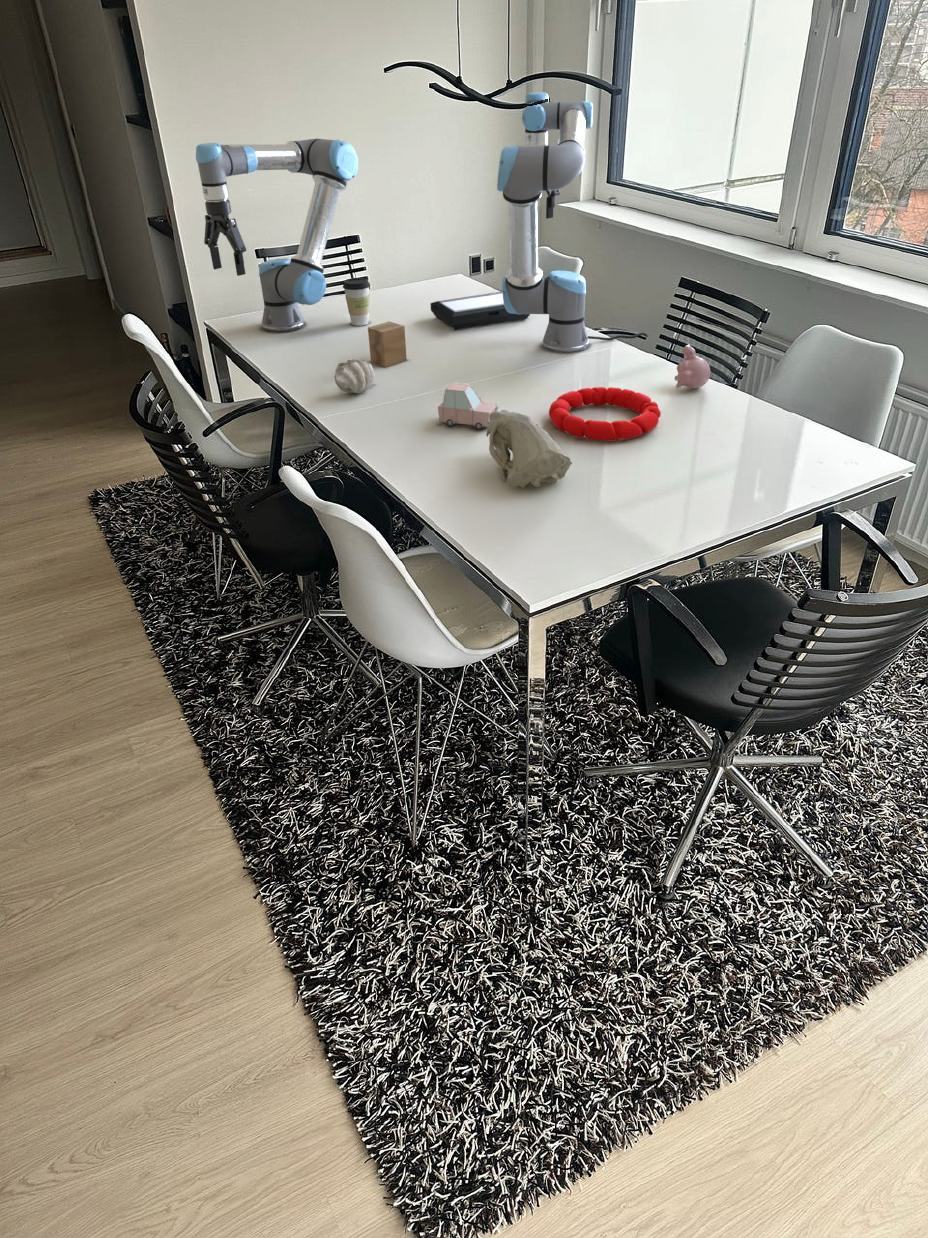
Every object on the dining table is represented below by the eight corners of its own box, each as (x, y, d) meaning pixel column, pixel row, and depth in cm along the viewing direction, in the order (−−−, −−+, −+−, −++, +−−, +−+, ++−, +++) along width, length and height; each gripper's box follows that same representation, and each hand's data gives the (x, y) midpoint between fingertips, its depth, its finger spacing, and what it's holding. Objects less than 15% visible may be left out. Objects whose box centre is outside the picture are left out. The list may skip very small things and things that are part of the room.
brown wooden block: (370, 361, 291) (367, 327, 285) (392, 355, 296) (389, 321, 290) (385, 367, 286) (382, 332, 280) (406, 360, 291) (404, 325, 285)
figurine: (665, 387, 264) (669, 347, 257) (693, 380, 268) (698, 340, 261) (686, 396, 257) (690, 355, 250) (714, 388, 262) (720, 348, 255)
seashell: (327, 392, 269) (323, 359, 263) (372, 382, 274) (369, 350, 269) (340, 402, 261) (336, 369, 255) (386, 392, 267) (383, 359, 261)
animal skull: (496, 517, 219) (521, 479, 201) (463, 429, 225) (484, 384, 207) (557, 503, 225) (586, 465, 206) (523, 417, 231) (549, 373, 212)
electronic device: (452, 314, 311) (430, 300, 326) (452, 332, 314) (431, 318, 330) (532, 301, 321) (508, 289, 336) (532, 319, 325) (508, 305, 340)
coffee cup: (372, 326, 323) (368, 283, 314) (345, 327, 323) (340, 284, 315) (374, 318, 331) (371, 276, 322) (348, 319, 331) (344, 277, 323)
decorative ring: (589, 435, 224) (684, 402, 234) (527, 398, 247) (617, 369, 256) (589, 461, 229) (683, 427, 238) (529, 422, 251) (617, 393, 260)
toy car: (488, 432, 240) (488, 396, 234) (436, 426, 244) (434, 390, 239) (499, 419, 247) (499, 384, 241) (448, 413, 252) (447, 379, 246)
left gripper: (184, 197, 280) (198, 268, 293) (229, 206, 266) (241, 279, 278) (205, 194, 285) (217, 263, 297) (250, 202, 270) (261, 274, 282)
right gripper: (501, 144, 301) (502, 212, 313) (556, 150, 286) (554, 221, 298) (517, 142, 305) (517, 209, 317) (571, 147, 290) (569, 218, 302)
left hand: (229, 271), depth 287 cm, fingers open, 13 cm apart
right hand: (535, 215), depth 308 cm, fingers open, 13 cm apart
